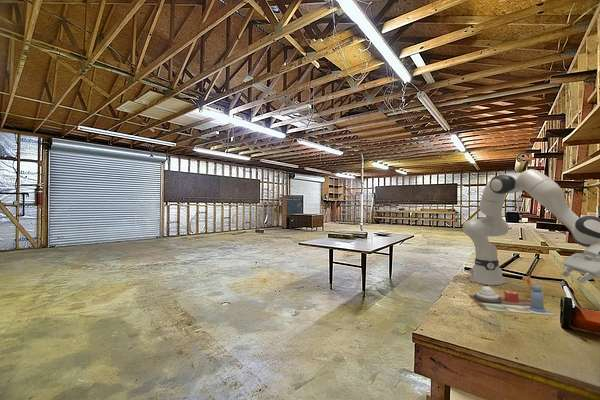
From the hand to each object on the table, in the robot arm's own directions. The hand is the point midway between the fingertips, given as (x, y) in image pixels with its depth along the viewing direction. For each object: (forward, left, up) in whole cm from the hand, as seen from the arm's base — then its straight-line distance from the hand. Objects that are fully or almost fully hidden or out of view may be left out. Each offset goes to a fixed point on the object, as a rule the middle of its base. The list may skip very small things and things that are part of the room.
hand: (571, 278), depth 112 cm
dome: (-11, -27, -13) cm, 32 cm away
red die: (-11, -17, -14) cm, 25 cm away
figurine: (-19, -5, -16) cm, 25 cm away
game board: (-6, -21, -16) cm, 27 cm away
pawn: (0, -12, -14) cm, 19 cm away
